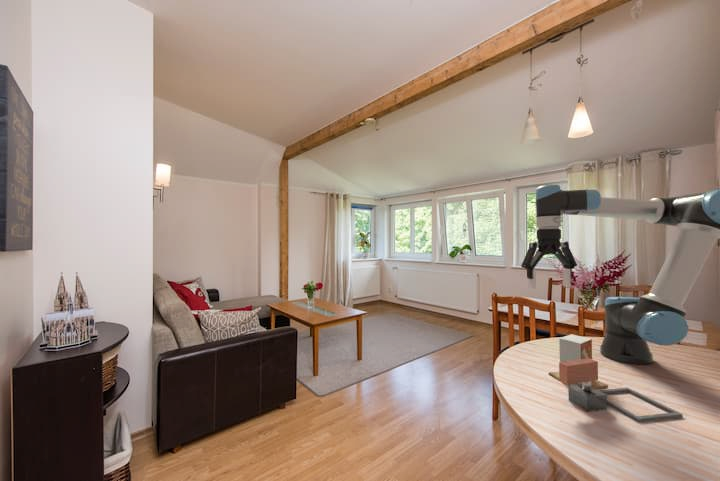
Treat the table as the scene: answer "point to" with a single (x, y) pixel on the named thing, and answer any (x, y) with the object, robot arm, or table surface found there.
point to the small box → (575, 348)
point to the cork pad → (593, 384)
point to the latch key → (579, 372)
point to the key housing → (587, 398)
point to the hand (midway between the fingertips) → (549, 287)
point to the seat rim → (669, 415)
